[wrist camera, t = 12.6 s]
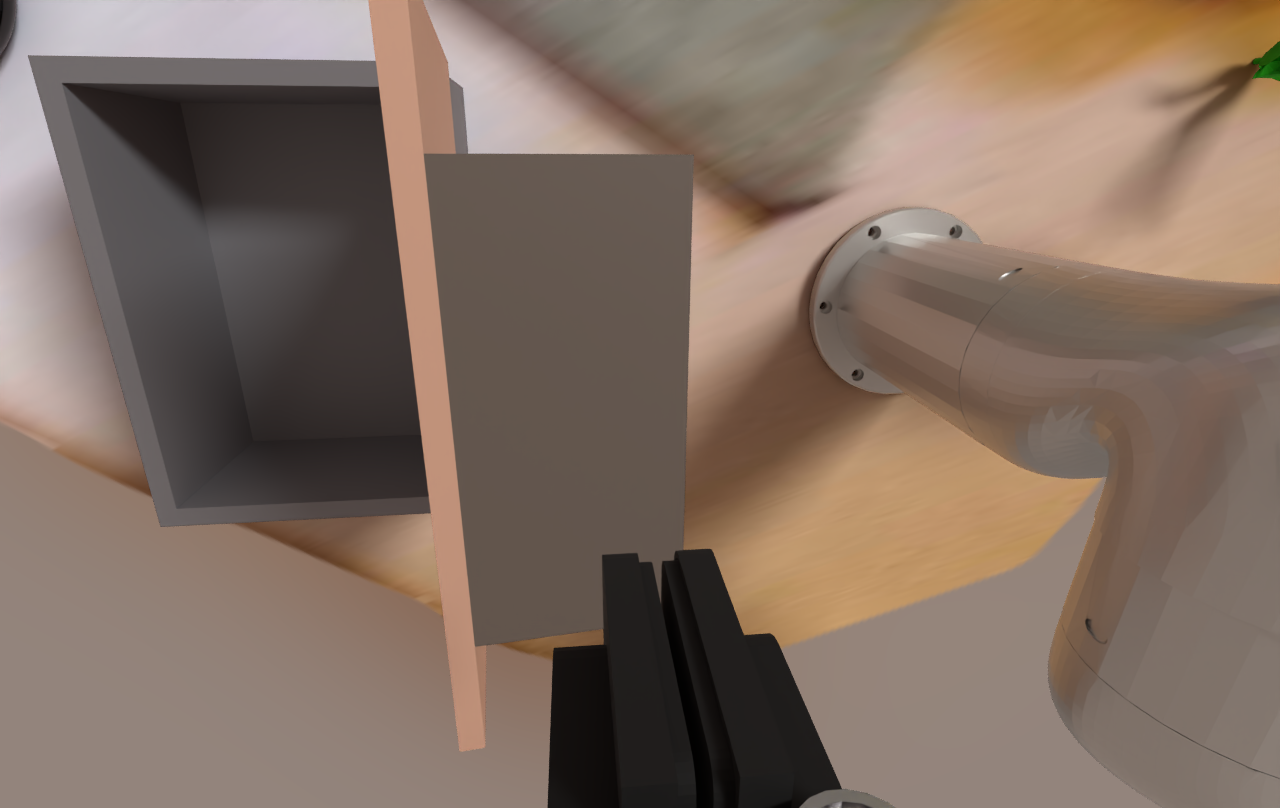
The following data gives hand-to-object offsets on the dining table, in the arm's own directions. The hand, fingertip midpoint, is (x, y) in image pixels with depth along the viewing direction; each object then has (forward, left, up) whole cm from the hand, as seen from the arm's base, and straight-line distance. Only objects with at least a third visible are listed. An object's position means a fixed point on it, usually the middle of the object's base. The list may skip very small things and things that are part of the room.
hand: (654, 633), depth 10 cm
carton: (+15, 0, -34) cm, 37 cm away
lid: (+6, 0, -16) cm, 17 cm away
